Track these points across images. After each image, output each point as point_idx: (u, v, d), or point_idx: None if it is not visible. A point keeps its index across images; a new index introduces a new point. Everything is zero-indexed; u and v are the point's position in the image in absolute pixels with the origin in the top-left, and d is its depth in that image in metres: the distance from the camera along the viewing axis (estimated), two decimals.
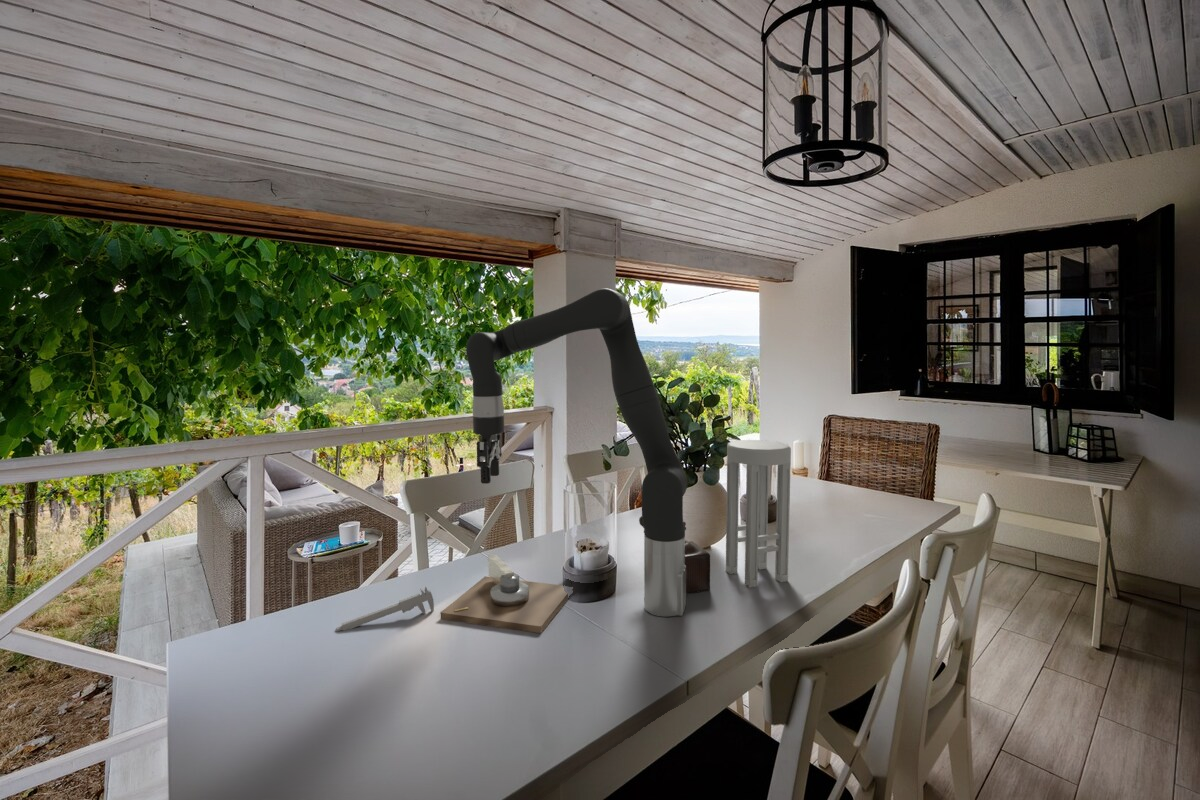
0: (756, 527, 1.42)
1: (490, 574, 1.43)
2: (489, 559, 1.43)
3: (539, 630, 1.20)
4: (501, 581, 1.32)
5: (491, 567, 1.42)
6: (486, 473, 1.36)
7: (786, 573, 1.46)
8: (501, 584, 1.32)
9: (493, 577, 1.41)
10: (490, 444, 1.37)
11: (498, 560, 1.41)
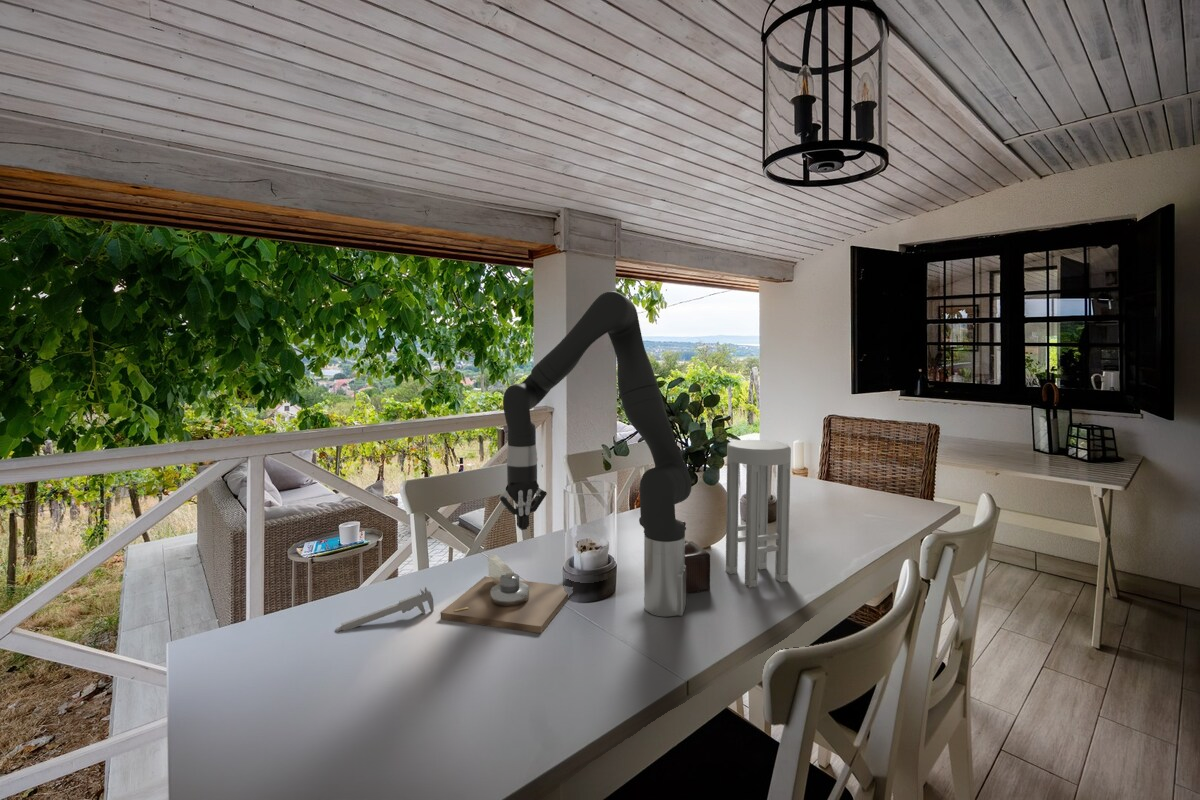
0: (756, 527, 1.42)
1: (490, 574, 1.43)
2: (489, 559, 1.43)
3: (539, 630, 1.20)
4: (501, 581, 1.32)
5: (491, 567, 1.42)
6: None
7: (786, 573, 1.46)
8: (501, 584, 1.32)
9: (493, 577, 1.41)
10: None
11: (498, 560, 1.41)
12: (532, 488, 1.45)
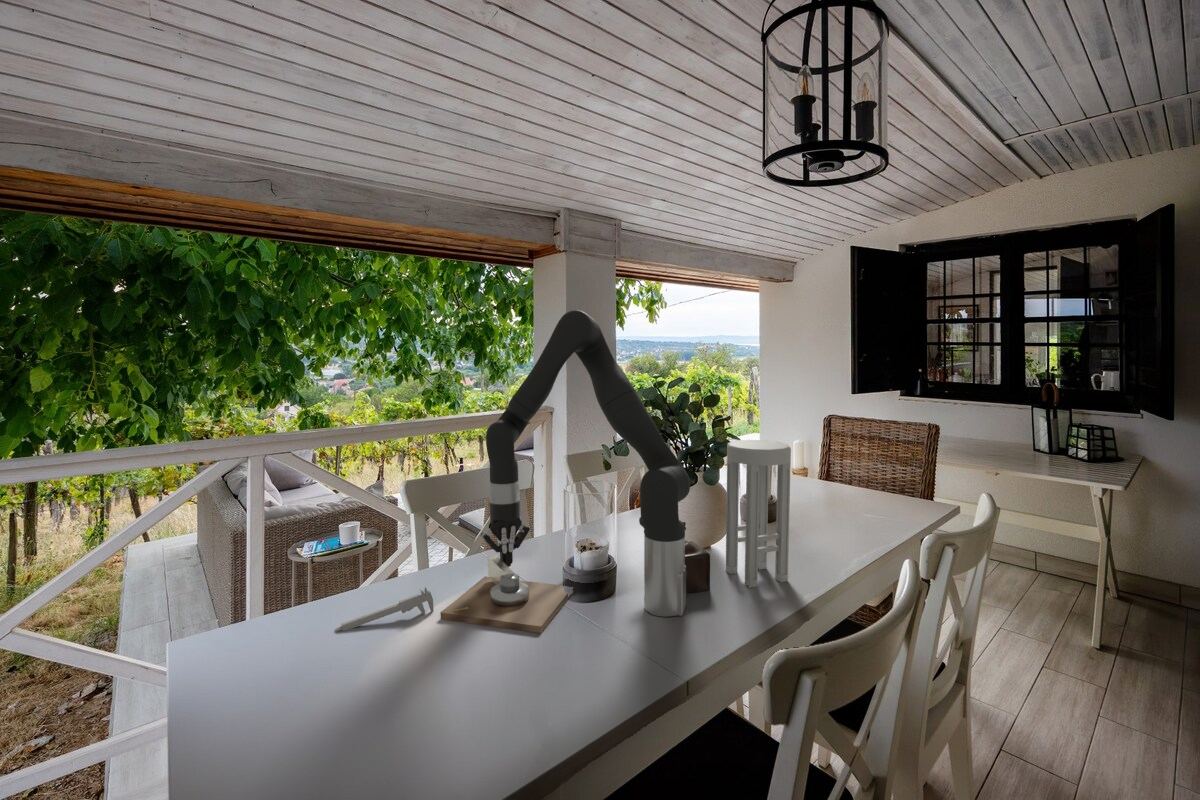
0: (756, 527, 1.42)
1: (490, 574, 1.43)
2: (489, 559, 1.43)
3: (539, 630, 1.20)
4: (501, 581, 1.32)
5: (491, 567, 1.42)
6: None
7: (786, 573, 1.46)
8: (501, 584, 1.32)
9: (493, 577, 1.41)
10: None
11: (498, 560, 1.41)
12: (515, 524, 1.44)
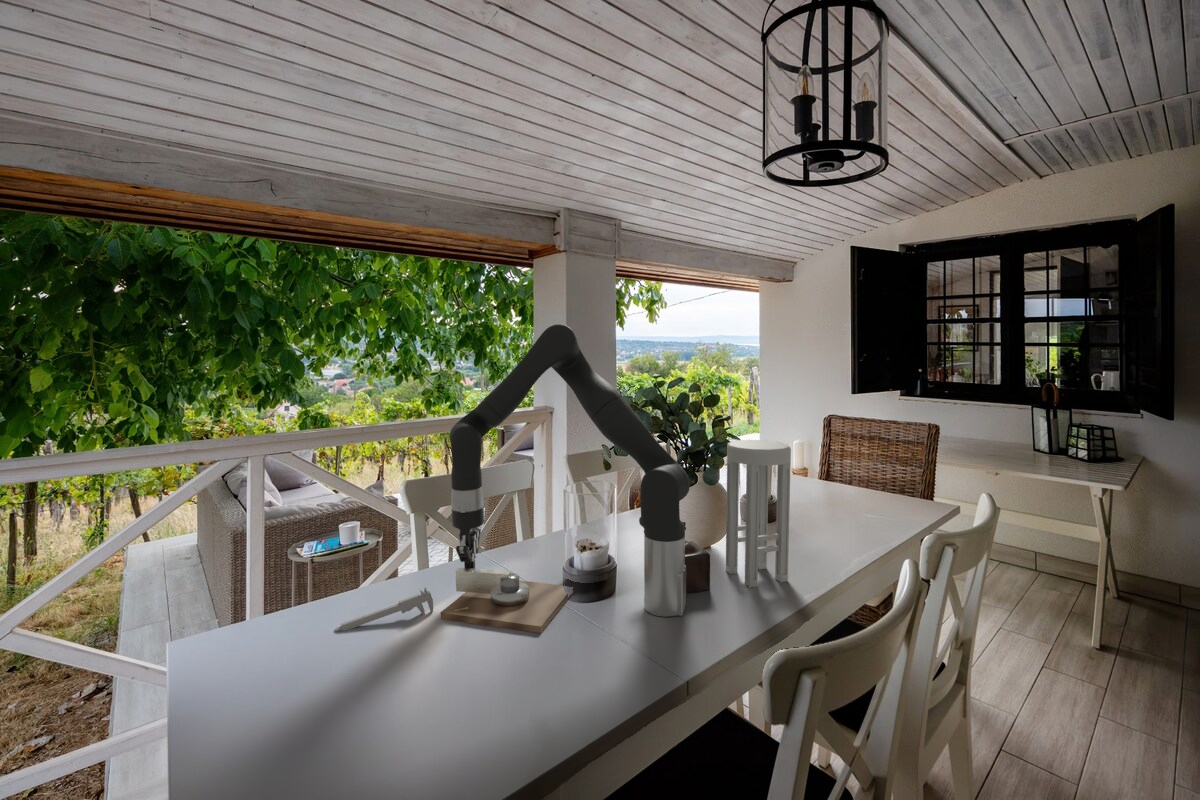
0: (756, 527, 1.42)
1: (462, 588, 1.34)
2: (459, 573, 1.34)
3: (539, 630, 1.20)
4: (507, 582, 1.31)
5: (465, 580, 1.34)
6: None
7: (786, 573, 1.46)
8: (507, 585, 1.31)
9: (471, 589, 1.34)
10: None
11: (474, 569, 1.35)
12: (475, 530, 1.40)
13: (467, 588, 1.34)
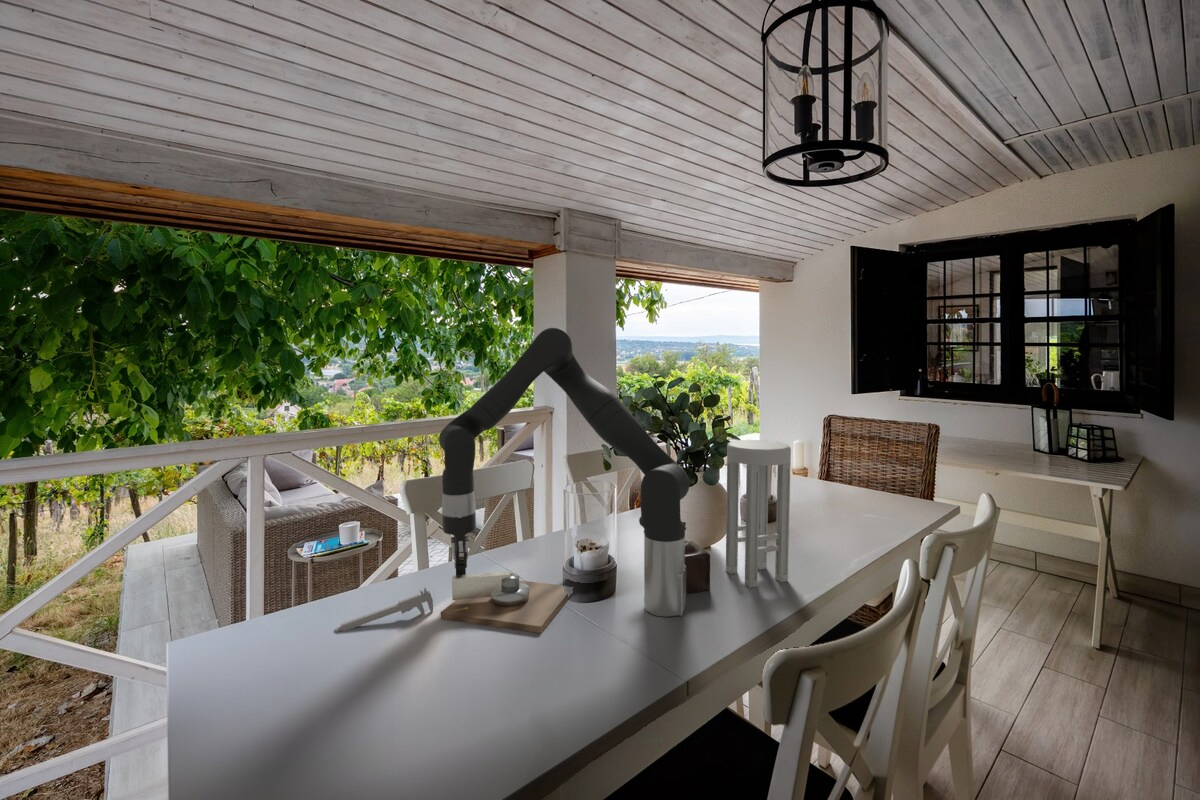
0: (756, 527, 1.42)
1: (459, 596, 1.30)
2: (456, 580, 1.30)
3: (539, 630, 1.20)
4: (511, 582, 1.31)
5: (463, 587, 1.30)
6: None
7: (786, 573, 1.46)
8: (511, 585, 1.31)
9: (470, 595, 1.31)
10: None
11: (470, 575, 1.32)
12: None
13: (465, 595, 1.30)
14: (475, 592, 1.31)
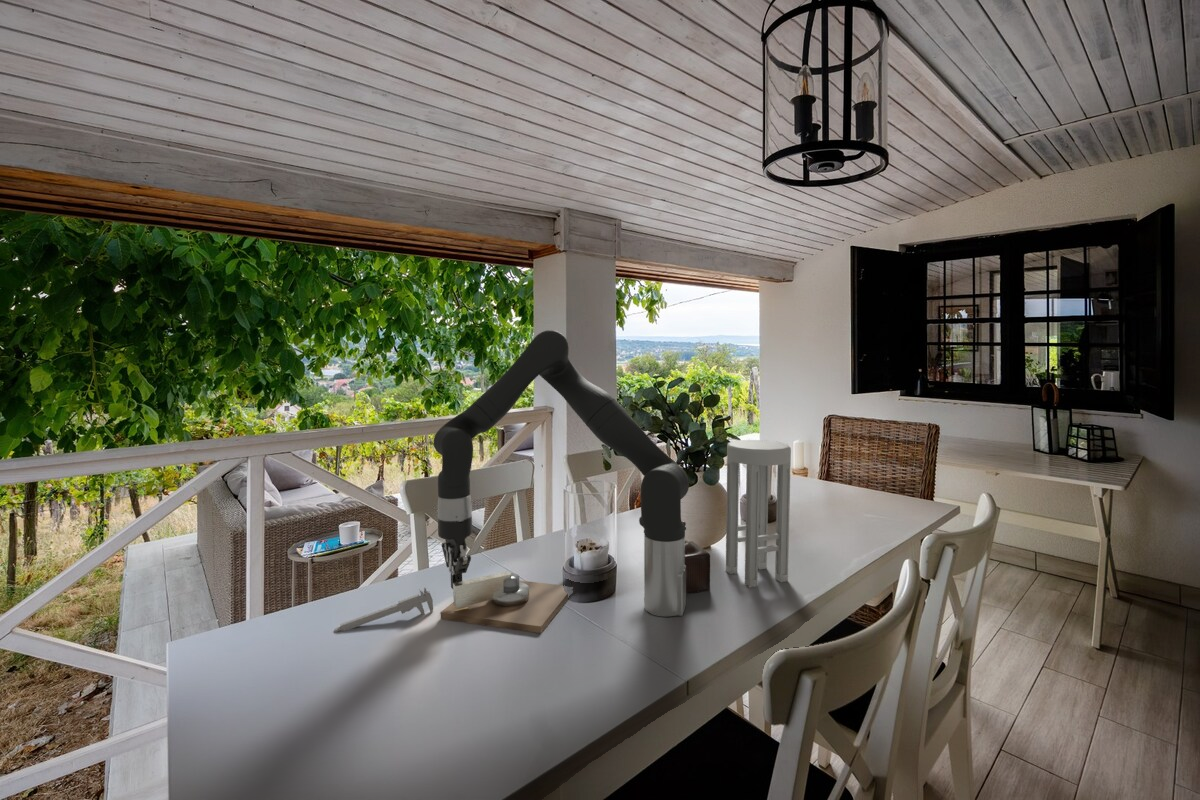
0: (756, 527, 1.42)
1: (463, 603, 1.27)
2: (460, 587, 1.26)
3: (539, 630, 1.20)
4: (514, 582, 1.31)
5: (466, 593, 1.27)
6: None
7: (786, 573, 1.46)
8: (514, 585, 1.31)
9: (473, 600, 1.28)
10: (446, 541, 1.31)
11: (472, 580, 1.29)
12: None
13: (468, 601, 1.27)
14: (478, 596, 1.28)
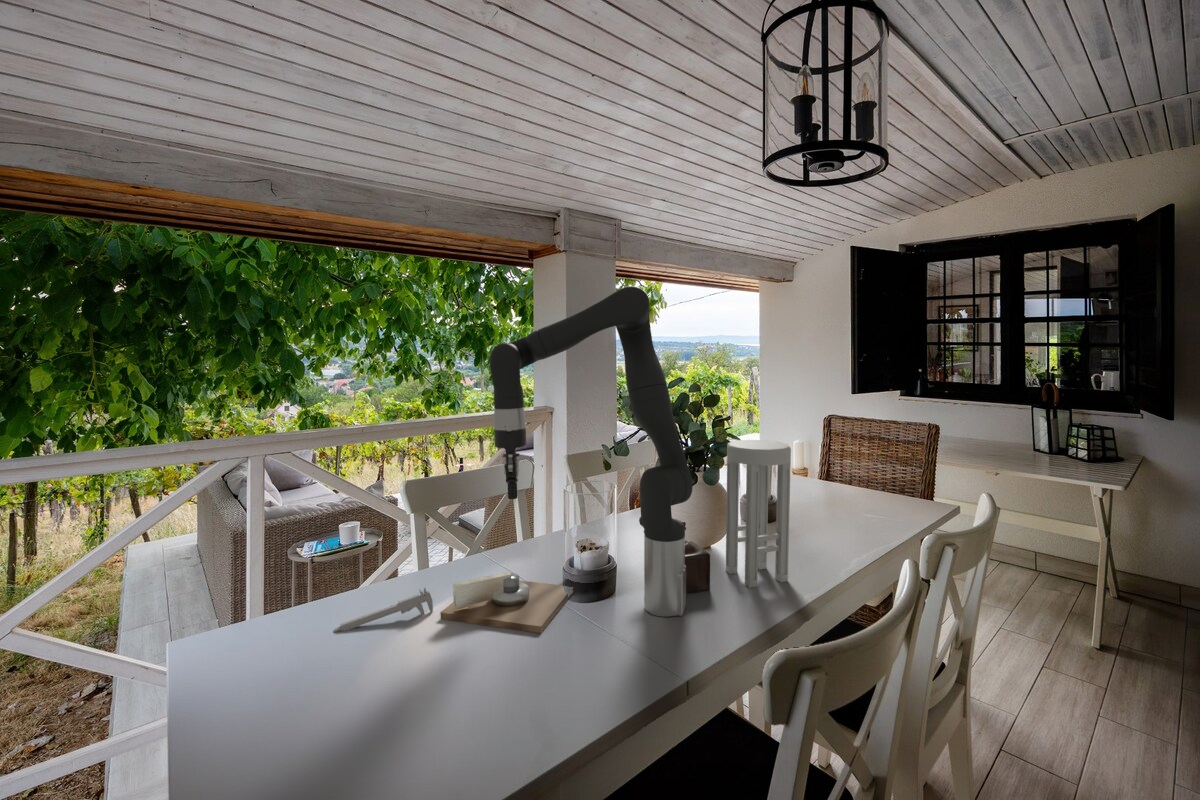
0: (756, 527, 1.42)
1: (463, 603, 1.27)
2: (460, 587, 1.26)
3: (539, 630, 1.20)
4: (514, 582, 1.31)
5: (466, 593, 1.27)
6: None
7: (786, 573, 1.46)
8: (514, 585, 1.31)
9: (473, 600, 1.28)
10: None
11: (472, 580, 1.29)
12: None
13: (468, 601, 1.27)
14: (478, 596, 1.28)
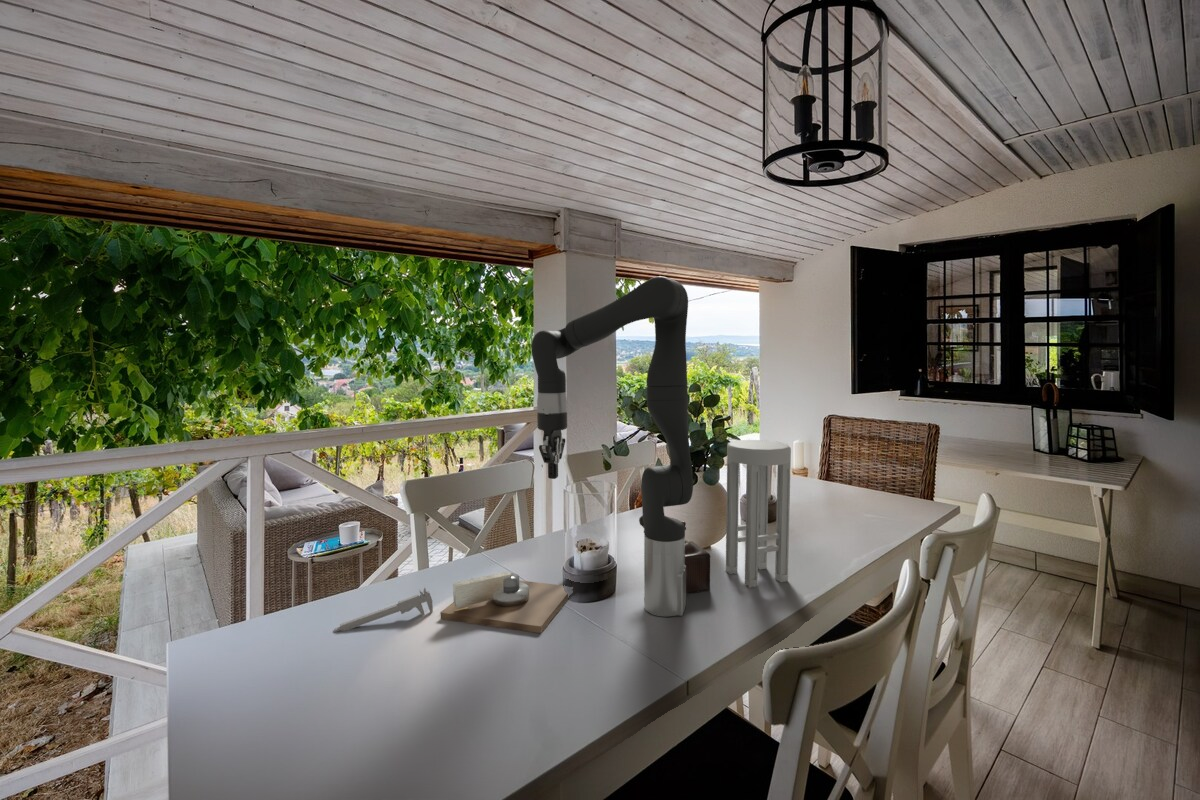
0: (756, 527, 1.42)
1: (463, 603, 1.27)
2: (460, 587, 1.26)
3: (539, 630, 1.20)
4: (514, 582, 1.31)
5: (466, 593, 1.27)
6: None
7: (786, 573, 1.46)
8: (514, 585, 1.31)
9: (473, 600, 1.28)
10: None
11: (472, 580, 1.29)
12: (559, 435, 1.46)
13: (468, 601, 1.27)
14: (478, 596, 1.28)
